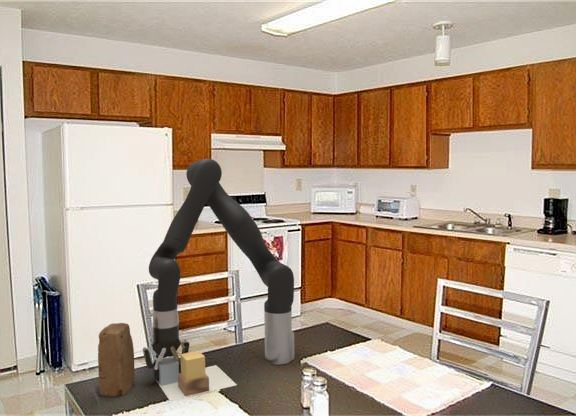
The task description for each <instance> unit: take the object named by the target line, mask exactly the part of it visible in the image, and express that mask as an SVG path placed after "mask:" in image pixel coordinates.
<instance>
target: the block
mask: <svg viewBox="0 0 576 416" xmlns="http://www.w3.org/2000/svg"><path fill="white" fill-rule="evenodd" d="M130 329H131V328H130V325H129V324H128V323H125V322H124V323H123V322H119V323H110V324H109V325H107V326H104V328H103V329H101V331H100V332H99V334H98V339H99V340H98V342H99V343H98V345H97V351H98V353H97V363H98V365H97V366H98V370H97V371H98V384H99V385H98V386H99V387H98V388H99V393H100V396H104V397H118V396H125V394H126V393H128V392H129V391H130V390H131V388H132V387H133V384H134V380H135V349H134V342H133V338H132V334H131V330H130Z"/></svg>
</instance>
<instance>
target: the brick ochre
mask: <svg viewBox="0 0 576 416" xmlns="http://www.w3.org/2000/svg"><path fill="white" fill-rule="evenodd" d="M180 357H181V375H182V376H183V377H184V378H185V379H186V381H189V380H194V379H198V378H203V377H205V368H206V356H205V355H204V354H203V353H202V352H201V351H200V350H195V351H190V352H189V351H188V353H184V354H182V353H180Z"/></svg>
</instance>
